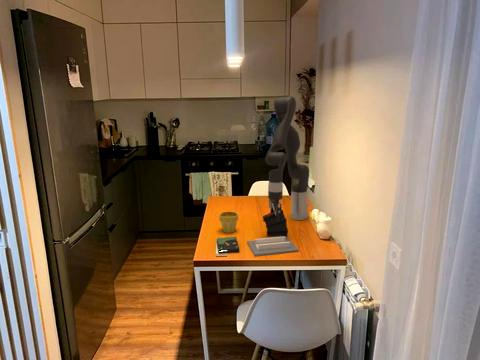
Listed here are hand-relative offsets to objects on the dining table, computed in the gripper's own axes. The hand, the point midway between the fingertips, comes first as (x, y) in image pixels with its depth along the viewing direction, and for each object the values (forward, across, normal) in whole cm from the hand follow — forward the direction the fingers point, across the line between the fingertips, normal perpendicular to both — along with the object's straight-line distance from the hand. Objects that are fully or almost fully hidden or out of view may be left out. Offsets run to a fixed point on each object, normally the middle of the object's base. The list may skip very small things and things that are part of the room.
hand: (274, 219), depth 198 cm
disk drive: (+11, -8, +27) cm, 30 cm away
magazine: (+10, 0, 0) cm, 10 cm away
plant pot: (+10, +13, +23) cm, 28 cm away
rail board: (+10, -14, +6) cm, 18 cm away
